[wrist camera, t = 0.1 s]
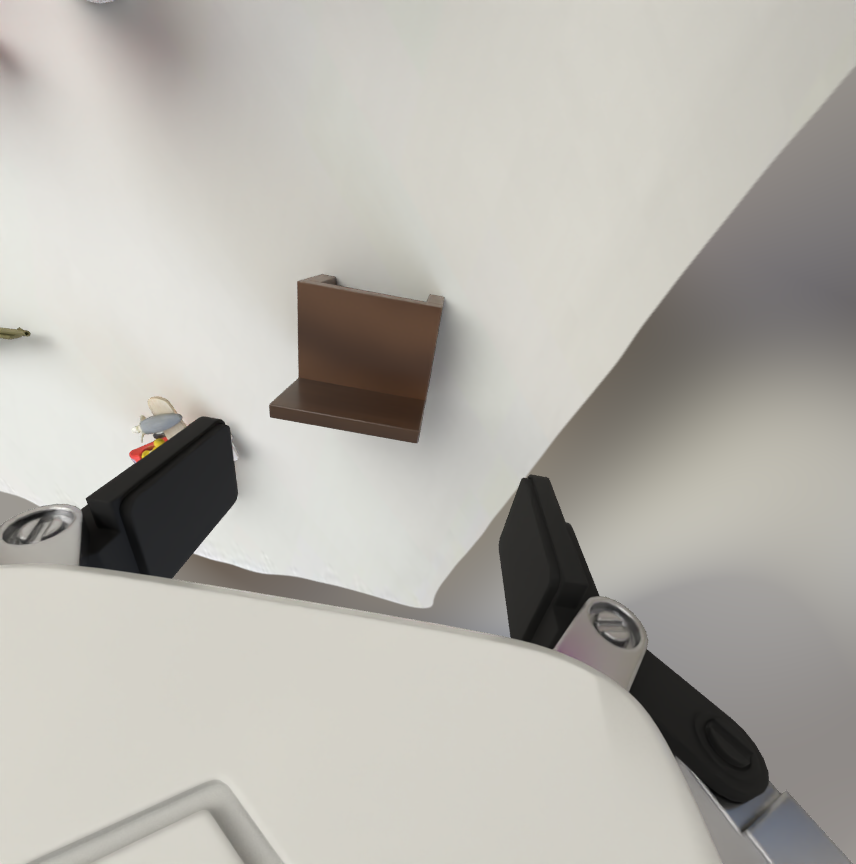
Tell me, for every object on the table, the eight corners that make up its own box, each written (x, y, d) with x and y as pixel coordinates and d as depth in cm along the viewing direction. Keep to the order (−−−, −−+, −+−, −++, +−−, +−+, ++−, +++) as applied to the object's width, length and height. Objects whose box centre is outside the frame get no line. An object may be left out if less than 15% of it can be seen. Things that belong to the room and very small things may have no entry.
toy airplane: (148, 443, 38) (95, 479, 32) (174, 380, 34) (119, 409, 29) (228, 488, 40) (191, 529, 35) (261, 433, 36) (225, 470, 31)
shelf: (321, 273, 29) (261, 291, 20) (444, 296, 29) (439, 323, 20) (319, 368, 33) (269, 417, 24) (428, 388, 33) (417, 444, 24)
